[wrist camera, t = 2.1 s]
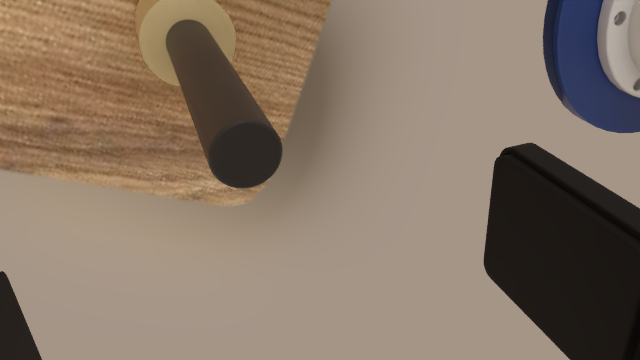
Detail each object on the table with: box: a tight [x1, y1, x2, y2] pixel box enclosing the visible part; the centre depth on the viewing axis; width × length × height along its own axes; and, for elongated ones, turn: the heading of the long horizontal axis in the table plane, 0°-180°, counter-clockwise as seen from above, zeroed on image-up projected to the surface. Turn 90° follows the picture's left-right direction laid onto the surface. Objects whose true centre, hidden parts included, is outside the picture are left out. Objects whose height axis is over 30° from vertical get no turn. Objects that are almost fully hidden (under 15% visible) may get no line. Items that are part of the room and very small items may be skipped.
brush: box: [135, 0, 282, 188], centre depth 22 cm, size 4×4×16 cm
